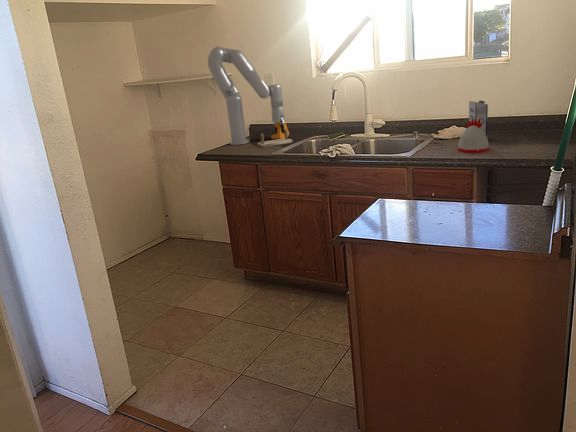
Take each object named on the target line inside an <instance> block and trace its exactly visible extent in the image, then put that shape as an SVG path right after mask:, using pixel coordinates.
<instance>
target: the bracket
mask: <svg viewBox="0 0 576 432" xmlns="http://www.w3.org/2000/svg"><path fill="white" fill-rule="evenodd" d="M281 122H282V121H280V125H281ZM284 122H285V123H284V129H287V134H288V136H290V132H289V129H288V126H287V123H286V120H285V121H284ZM280 125H279V123H274V128H275V127H276V128H277V133H275V134H272V135H270V137H271V140H276V139H282V138H285V133H284V134H283V133H282V132H281V128H280Z"/></svg>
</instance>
